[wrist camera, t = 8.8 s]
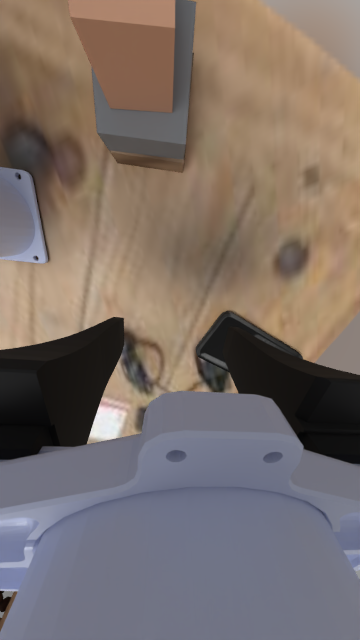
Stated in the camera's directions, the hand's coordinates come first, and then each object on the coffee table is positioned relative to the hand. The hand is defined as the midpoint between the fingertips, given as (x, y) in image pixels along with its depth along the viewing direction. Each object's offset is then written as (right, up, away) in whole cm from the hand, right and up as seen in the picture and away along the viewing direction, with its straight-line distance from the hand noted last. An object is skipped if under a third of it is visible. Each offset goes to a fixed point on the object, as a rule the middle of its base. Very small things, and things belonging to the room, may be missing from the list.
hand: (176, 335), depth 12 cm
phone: (+10, -4, +14) cm, 18 cm away
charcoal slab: (-2, +17, +1) cm, 17 cm away
